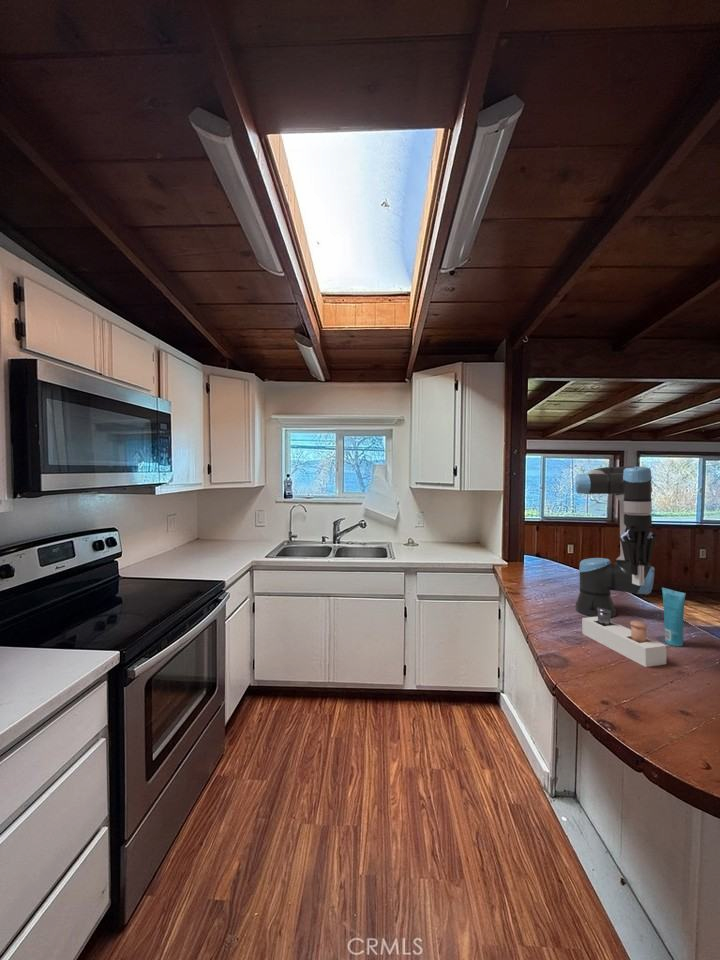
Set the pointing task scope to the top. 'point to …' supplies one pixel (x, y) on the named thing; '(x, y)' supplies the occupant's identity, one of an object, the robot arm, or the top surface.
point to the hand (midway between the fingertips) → (638, 584)
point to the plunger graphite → (604, 616)
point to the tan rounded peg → (638, 631)
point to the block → (625, 642)
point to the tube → (673, 616)
